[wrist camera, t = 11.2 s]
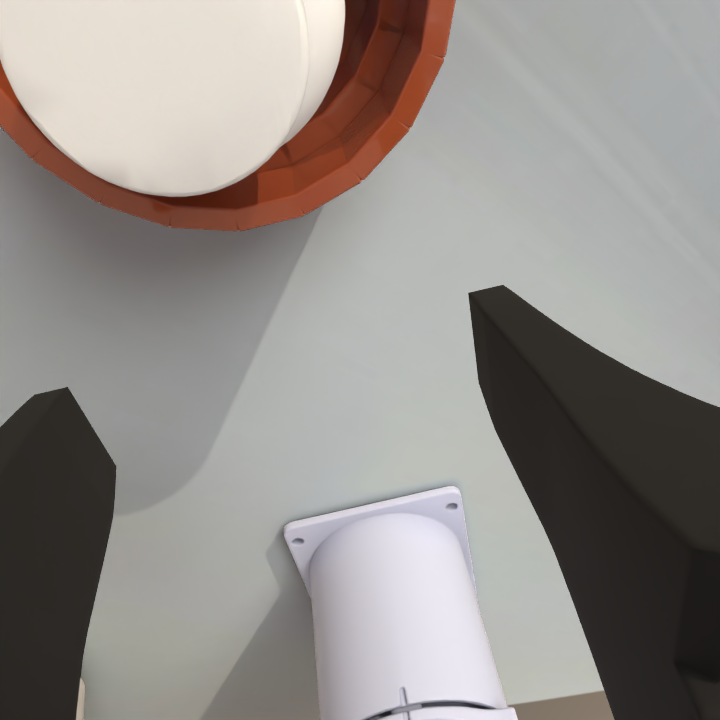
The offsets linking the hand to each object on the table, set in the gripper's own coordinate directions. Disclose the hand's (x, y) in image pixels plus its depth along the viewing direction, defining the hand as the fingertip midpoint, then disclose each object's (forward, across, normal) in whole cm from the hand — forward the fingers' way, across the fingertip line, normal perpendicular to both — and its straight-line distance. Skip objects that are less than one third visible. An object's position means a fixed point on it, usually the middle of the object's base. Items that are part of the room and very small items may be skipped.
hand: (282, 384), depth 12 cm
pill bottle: (+10, 0, -6) cm, 12 cm away
